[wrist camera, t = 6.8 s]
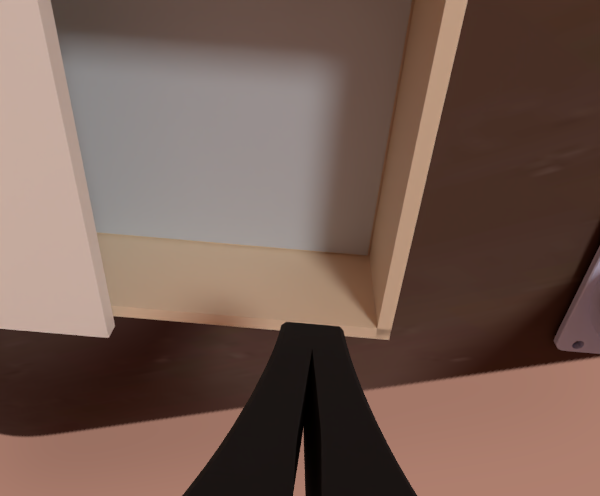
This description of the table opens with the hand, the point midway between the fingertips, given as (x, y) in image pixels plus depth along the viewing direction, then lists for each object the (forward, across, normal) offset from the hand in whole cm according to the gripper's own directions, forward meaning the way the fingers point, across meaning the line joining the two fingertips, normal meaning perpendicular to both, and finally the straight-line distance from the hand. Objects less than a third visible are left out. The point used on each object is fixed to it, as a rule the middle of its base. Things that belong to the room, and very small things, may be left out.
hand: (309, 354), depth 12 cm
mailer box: (+10, +5, -2) cm, 11 cm away
